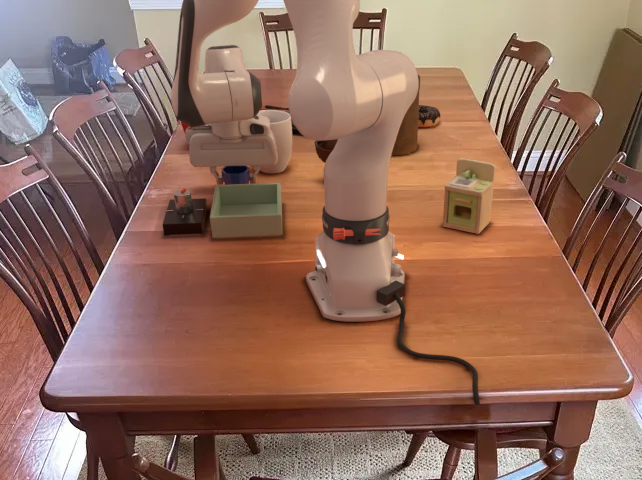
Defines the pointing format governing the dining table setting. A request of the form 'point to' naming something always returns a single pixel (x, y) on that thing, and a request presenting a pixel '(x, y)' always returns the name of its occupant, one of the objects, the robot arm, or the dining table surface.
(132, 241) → the dining table surface
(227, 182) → the blue cup
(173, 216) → the black dial base
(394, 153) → the wooden container
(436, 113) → the donut
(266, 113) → the mug
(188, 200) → the rotary knob
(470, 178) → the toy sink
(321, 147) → the ice cream bowl
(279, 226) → the basin
